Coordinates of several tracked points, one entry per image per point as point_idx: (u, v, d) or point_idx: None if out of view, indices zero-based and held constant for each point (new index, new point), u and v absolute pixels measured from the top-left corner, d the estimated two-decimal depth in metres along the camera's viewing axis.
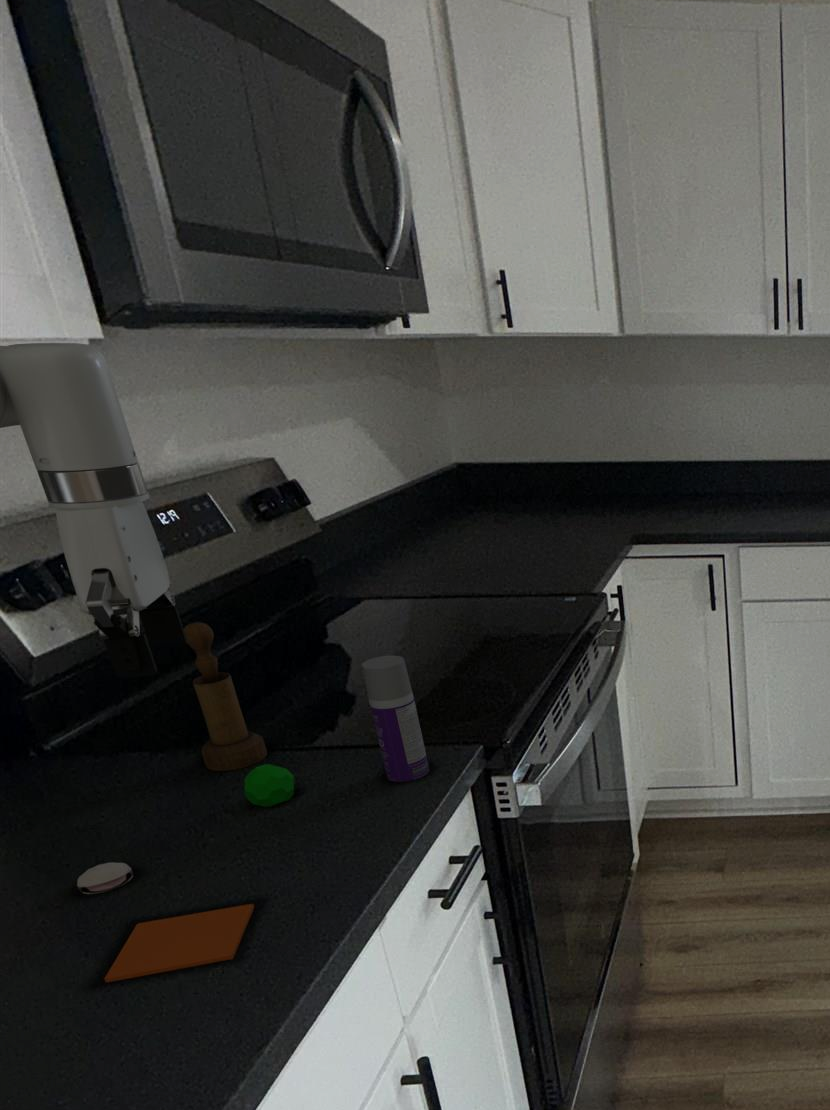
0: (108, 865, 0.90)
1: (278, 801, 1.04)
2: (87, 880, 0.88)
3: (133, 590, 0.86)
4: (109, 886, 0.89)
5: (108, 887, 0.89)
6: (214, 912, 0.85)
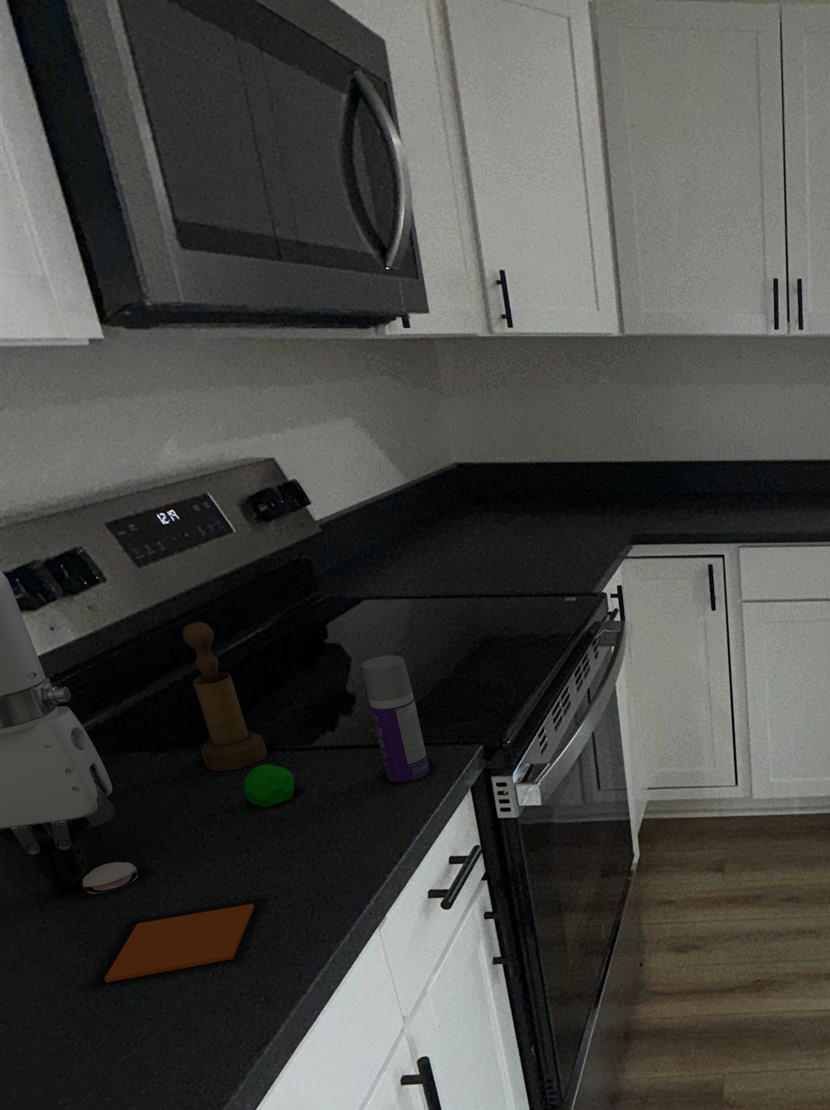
0: (113, 865, 0.90)
1: (278, 801, 1.04)
2: (92, 880, 0.88)
3: None
4: (114, 886, 0.89)
5: (113, 887, 0.89)
6: (214, 912, 0.85)
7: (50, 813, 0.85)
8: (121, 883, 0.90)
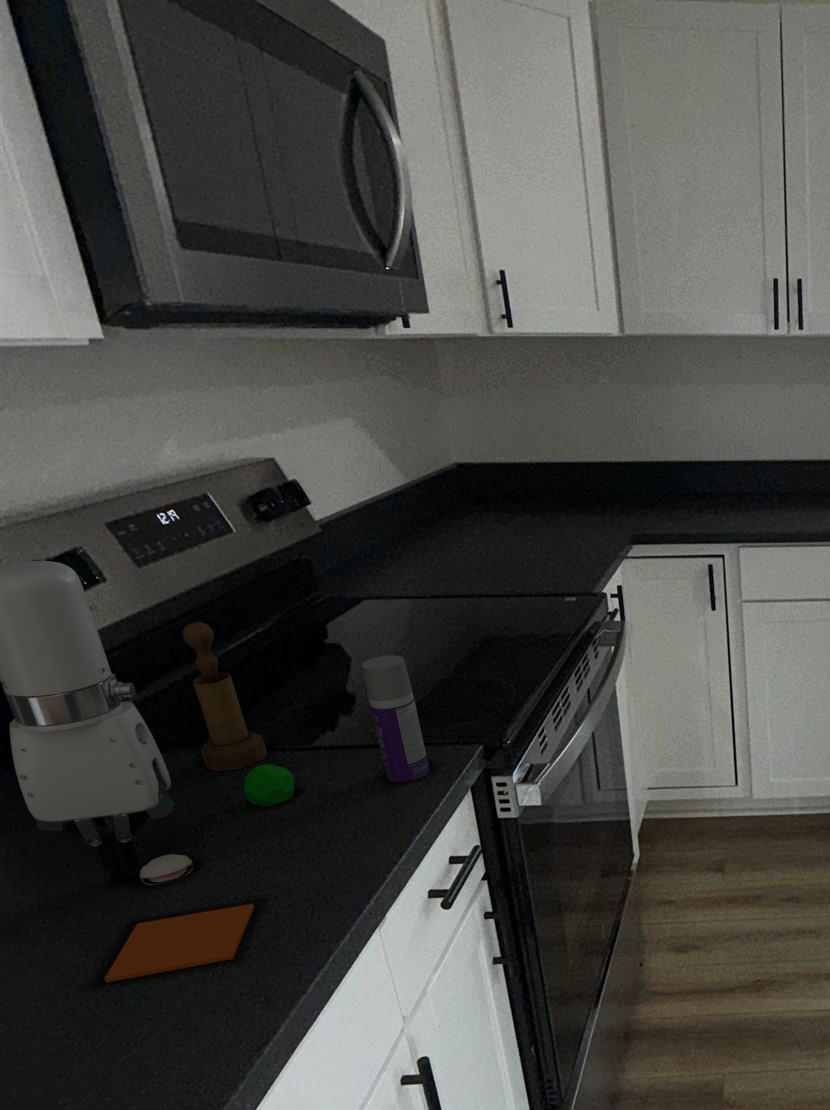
0: (170, 857, 0.91)
1: (278, 801, 1.04)
2: (148, 871, 0.89)
3: (27, 804, 0.84)
4: (169, 878, 0.90)
5: (168, 879, 0.90)
6: (214, 912, 0.85)
7: (113, 806, 0.86)
8: (176, 876, 0.91)
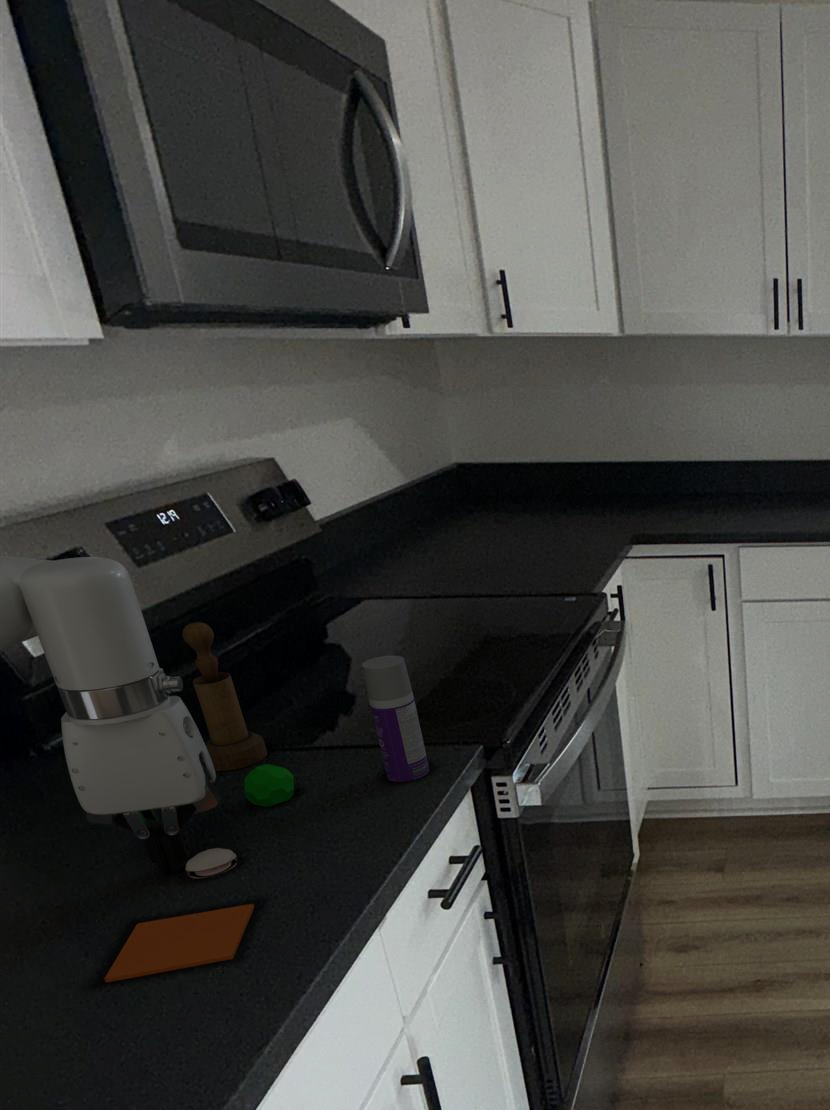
0: (215, 851, 0.92)
1: (278, 801, 1.04)
2: (194, 865, 0.90)
3: (77, 797, 0.85)
4: (213, 872, 0.91)
5: (212, 873, 0.91)
6: (214, 912, 0.85)
7: (162, 799, 0.87)
8: (220, 870, 0.92)
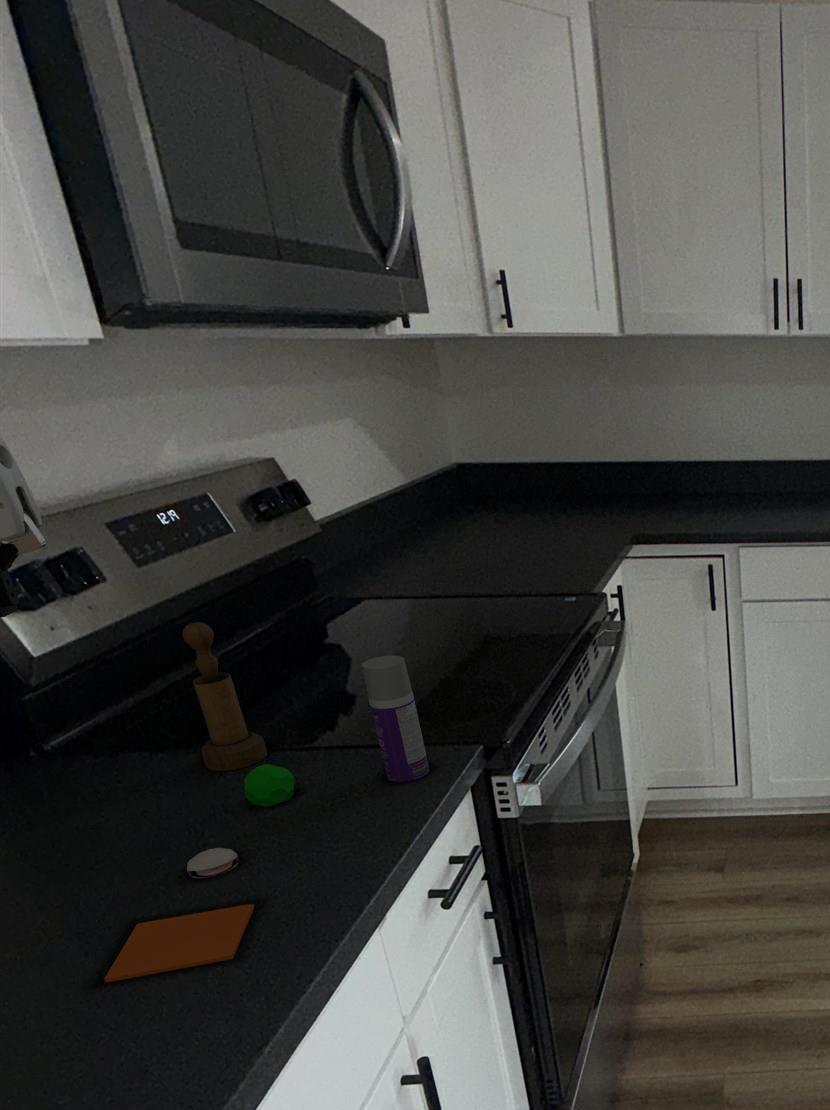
0: (216, 851, 0.92)
1: (278, 801, 1.04)
2: (195, 864, 0.91)
3: None
4: (214, 872, 0.91)
5: (213, 873, 0.91)
6: (214, 912, 0.85)
7: None
8: (221, 869, 0.92)
